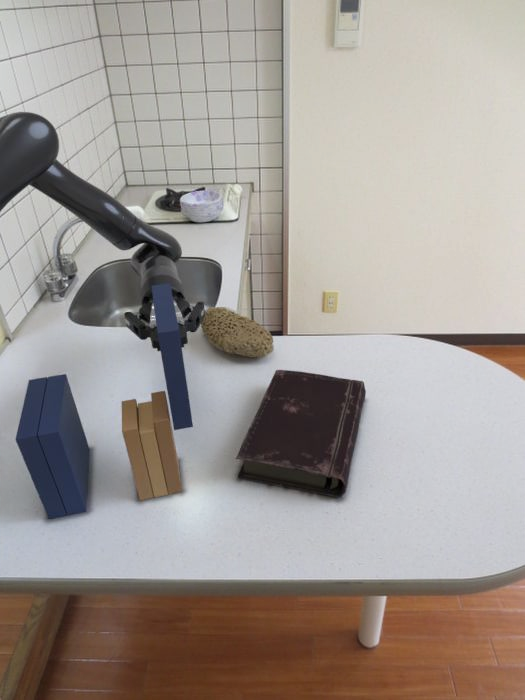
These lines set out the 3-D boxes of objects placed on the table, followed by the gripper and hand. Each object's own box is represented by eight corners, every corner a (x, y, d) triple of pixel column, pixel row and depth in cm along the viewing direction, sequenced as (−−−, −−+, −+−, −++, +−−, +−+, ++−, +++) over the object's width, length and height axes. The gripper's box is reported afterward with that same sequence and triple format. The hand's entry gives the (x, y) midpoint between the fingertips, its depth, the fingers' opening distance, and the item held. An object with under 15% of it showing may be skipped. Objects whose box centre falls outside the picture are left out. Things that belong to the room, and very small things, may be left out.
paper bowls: (181, 227, 183) (178, 205, 179) (183, 212, 196) (180, 191, 191) (224, 224, 184) (223, 202, 179) (224, 209, 196) (222, 188, 192)
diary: (365, 400, 102) (367, 380, 99) (345, 500, 82) (347, 478, 79) (272, 387, 106) (271, 367, 104) (232, 478, 87) (230, 456, 84)
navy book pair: (48, 519, 81) (15, 439, 72) (56, 456, 93) (28, 379, 83) (86, 511, 82) (58, 431, 73) (89, 450, 94) (66, 373, 84)
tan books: (139, 500, 84) (121, 428, 75) (138, 469, 89) (120, 398, 81) (182, 491, 85) (168, 419, 76) (178, 461, 91) (165, 390, 82)
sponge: (196, 336, 126) (220, 365, 108) (196, 305, 123) (221, 329, 106) (247, 333, 131) (279, 361, 113) (249, 303, 128) (281, 326, 111)
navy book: (174, 430, 77) (157, 332, 68) (166, 375, 89) (151, 285, 79) (193, 426, 78) (179, 329, 68) (183, 372, 89) (169, 283, 80)
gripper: (118, 279, 90) (118, 330, 76) (198, 268, 93) (213, 316, 79) (125, 316, 94) (127, 371, 80) (203, 305, 97) (218, 357, 83)
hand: (170, 344), depth 80 cm, fingers closed on navy book, 3 cm apart
